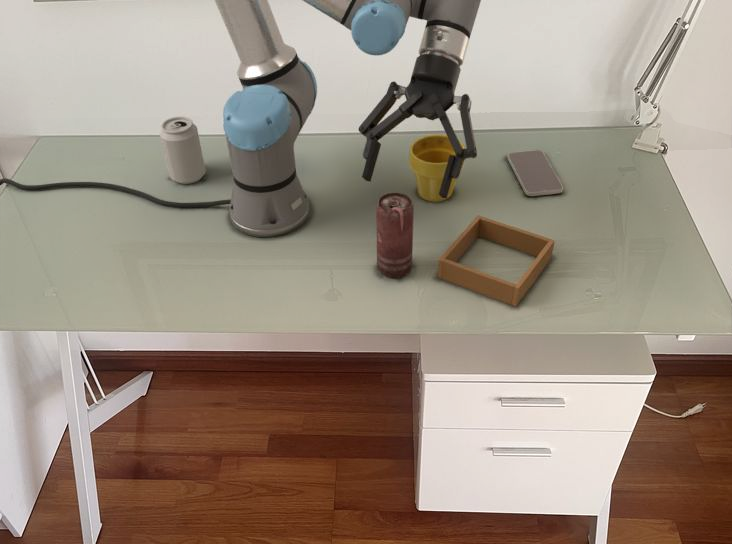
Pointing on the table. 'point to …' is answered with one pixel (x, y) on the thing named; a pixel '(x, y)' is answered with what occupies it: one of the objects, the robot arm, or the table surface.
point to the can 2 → (394, 234)
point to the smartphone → (534, 173)
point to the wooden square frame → (487, 282)
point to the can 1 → (182, 150)
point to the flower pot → (431, 164)
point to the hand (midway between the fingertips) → (403, 188)
